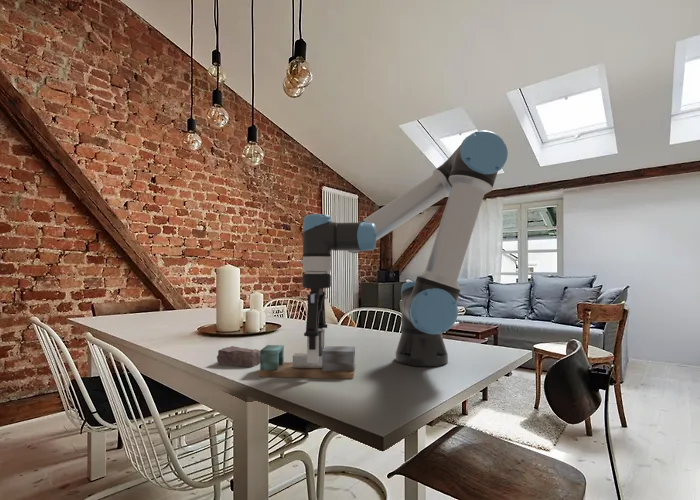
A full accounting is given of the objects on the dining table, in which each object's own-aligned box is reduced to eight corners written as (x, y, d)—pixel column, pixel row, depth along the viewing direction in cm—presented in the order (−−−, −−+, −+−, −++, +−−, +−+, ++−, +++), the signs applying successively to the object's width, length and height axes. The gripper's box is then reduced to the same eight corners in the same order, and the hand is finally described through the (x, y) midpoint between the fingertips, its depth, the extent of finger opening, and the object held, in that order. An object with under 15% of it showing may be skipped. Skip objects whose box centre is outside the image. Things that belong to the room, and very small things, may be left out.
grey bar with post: (354, 365, 103) (354, 331, 104) (354, 368, 100) (354, 333, 101) (294, 364, 104) (295, 330, 105) (292, 367, 101) (292, 332, 102)
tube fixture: (355, 368, 107) (355, 345, 107) (353, 378, 97) (353, 353, 97) (269, 366, 108) (269, 343, 109) (258, 376, 98) (258, 351, 99)
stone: (252, 368, 107) (252, 351, 107) (214, 366, 110) (214, 349, 110) (267, 361, 116) (267, 344, 116) (231, 359, 118) (231, 343, 119)
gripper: (310, 272, 115) (309, 347, 114) (293, 273, 92) (292, 368, 91) (335, 272, 115) (335, 348, 114) (325, 273, 92) (324, 368, 91)
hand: (316, 357), depth 103 cm, fingers open, 11 cm apart
